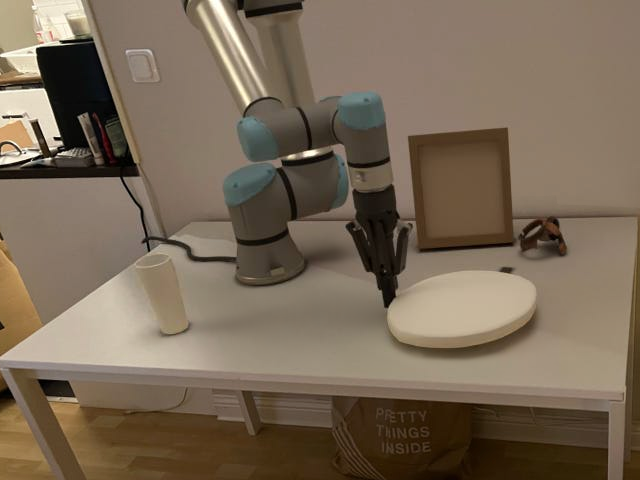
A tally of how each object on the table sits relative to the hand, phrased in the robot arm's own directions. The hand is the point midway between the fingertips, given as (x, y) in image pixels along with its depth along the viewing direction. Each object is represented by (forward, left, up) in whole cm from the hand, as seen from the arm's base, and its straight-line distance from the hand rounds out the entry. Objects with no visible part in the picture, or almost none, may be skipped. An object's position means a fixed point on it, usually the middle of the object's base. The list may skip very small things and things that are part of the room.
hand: (390, 305), depth 138 cm
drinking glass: (-41, -15, -2) cm, 44 cm away
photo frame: (+1, +39, -2) cm, 39 cm away
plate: (+15, +1, -2) cm, 15 cm away
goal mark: (+16, +20, -2) cm, 26 cm away
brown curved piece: (+21, +35, -2) cm, 41 cm away
